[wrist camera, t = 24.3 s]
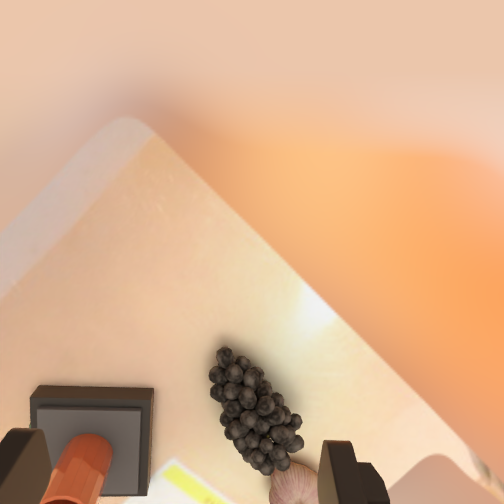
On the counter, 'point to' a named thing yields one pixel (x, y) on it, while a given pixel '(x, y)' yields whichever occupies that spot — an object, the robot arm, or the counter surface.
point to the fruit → (254, 414)
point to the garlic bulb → (294, 486)
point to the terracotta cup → (80, 471)
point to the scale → (100, 428)
